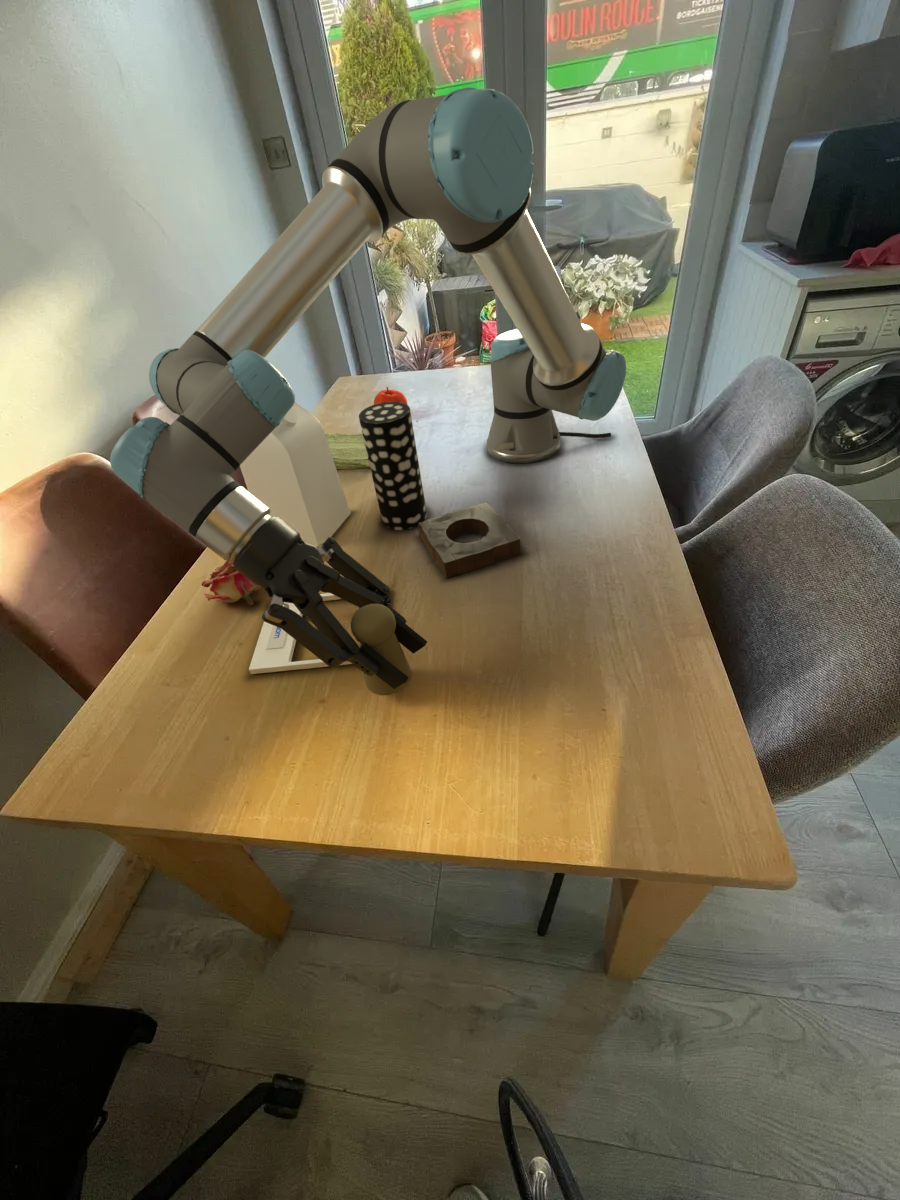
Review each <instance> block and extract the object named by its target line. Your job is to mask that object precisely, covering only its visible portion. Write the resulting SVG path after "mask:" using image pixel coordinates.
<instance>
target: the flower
mask: <svg viewBox="0 0 900 1200" xmlns="http://www.w3.org/2000/svg"><path fill="white" fill-rule="evenodd" d="M233 561H234V560H233V559H232V558H231V559H230V560H225V561H224V563H223V564H222V565H221V566H219V567H216V568H215V569H214V571H213V572H211V573H209V576H210V577H209V578H208V579H206V580H204V581H202V583H201V586H202V587H204V588H209V592H212V593H213V594H208V593H203V594H204V597H205V598H206V599H207V601H209V602H210V601H211V600H217V602H220V601H221V602H224V603H232V604H233V603H236V602H237V601H239V600H240V599H241V598H242V599H244V600H245V601H246V602H247V603H248V606H250V607H251V606H253V605H254V604H255V602H254V601H253V599H252V597H251V596H250V595H251V594H252V593H253V592H254V591H258V590H259V591H260V590H261V588H262V586H260V585H257V584H254V583H253V582H252V581H250V580H249V579H248V578H246V577H245V576H244V575H242V574H241V573H240V572H239V571H237V570H236V569H235V568H234V565H233Z"/></svg>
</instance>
